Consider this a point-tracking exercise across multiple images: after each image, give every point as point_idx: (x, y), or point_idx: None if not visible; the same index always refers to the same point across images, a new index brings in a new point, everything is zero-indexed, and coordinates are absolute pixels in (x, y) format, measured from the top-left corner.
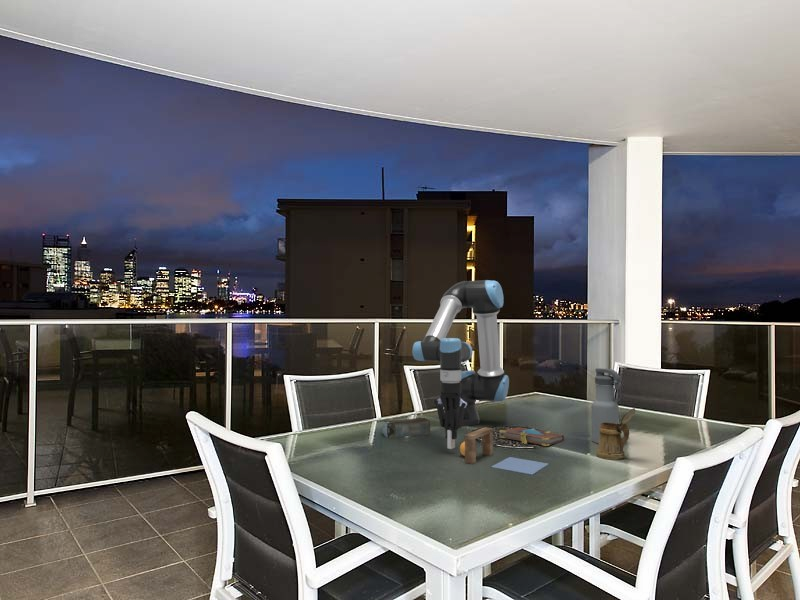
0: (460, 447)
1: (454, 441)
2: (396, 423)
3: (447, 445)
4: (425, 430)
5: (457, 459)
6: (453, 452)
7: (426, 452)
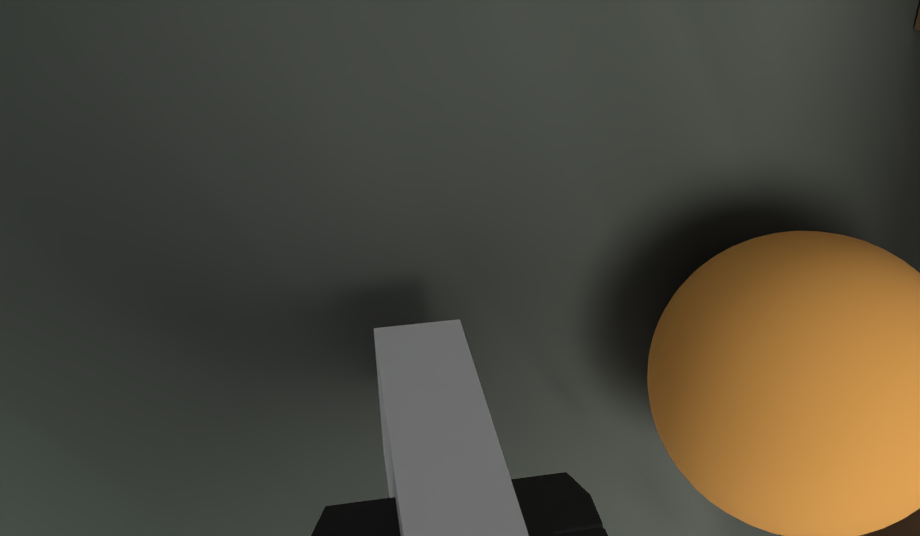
0: (709, 499)
1: (482, 408)
2: None
3: (389, 490)
4: None
5: (654, 490)
6: (397, 251)
7: (33, 528)
